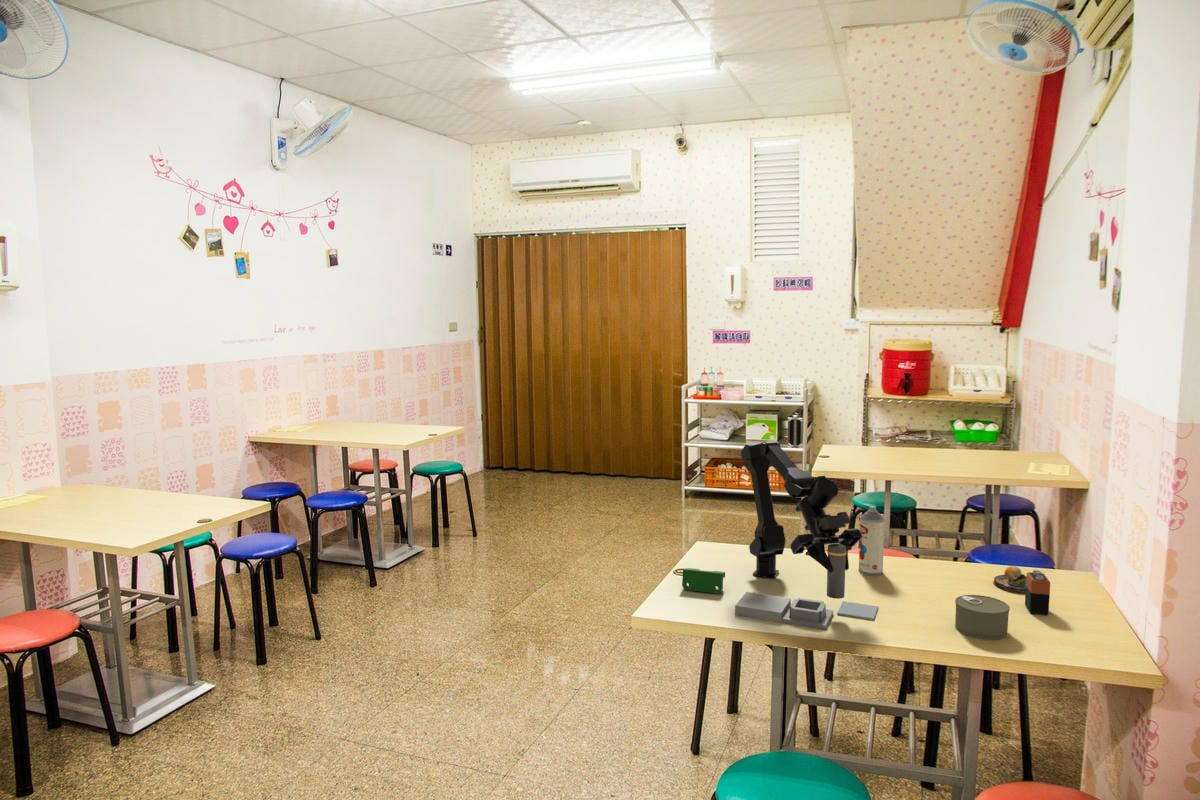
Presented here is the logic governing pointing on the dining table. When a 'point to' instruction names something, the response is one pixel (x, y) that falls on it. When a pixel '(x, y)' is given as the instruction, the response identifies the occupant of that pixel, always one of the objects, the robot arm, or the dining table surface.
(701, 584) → the clamp
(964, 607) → the can
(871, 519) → the aerosol can
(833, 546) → the plug
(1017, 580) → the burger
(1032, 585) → the battery
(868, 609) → the mat
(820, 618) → the socket block
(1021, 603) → the dining table surface
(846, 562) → the robot arm
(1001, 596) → the dining table surface
